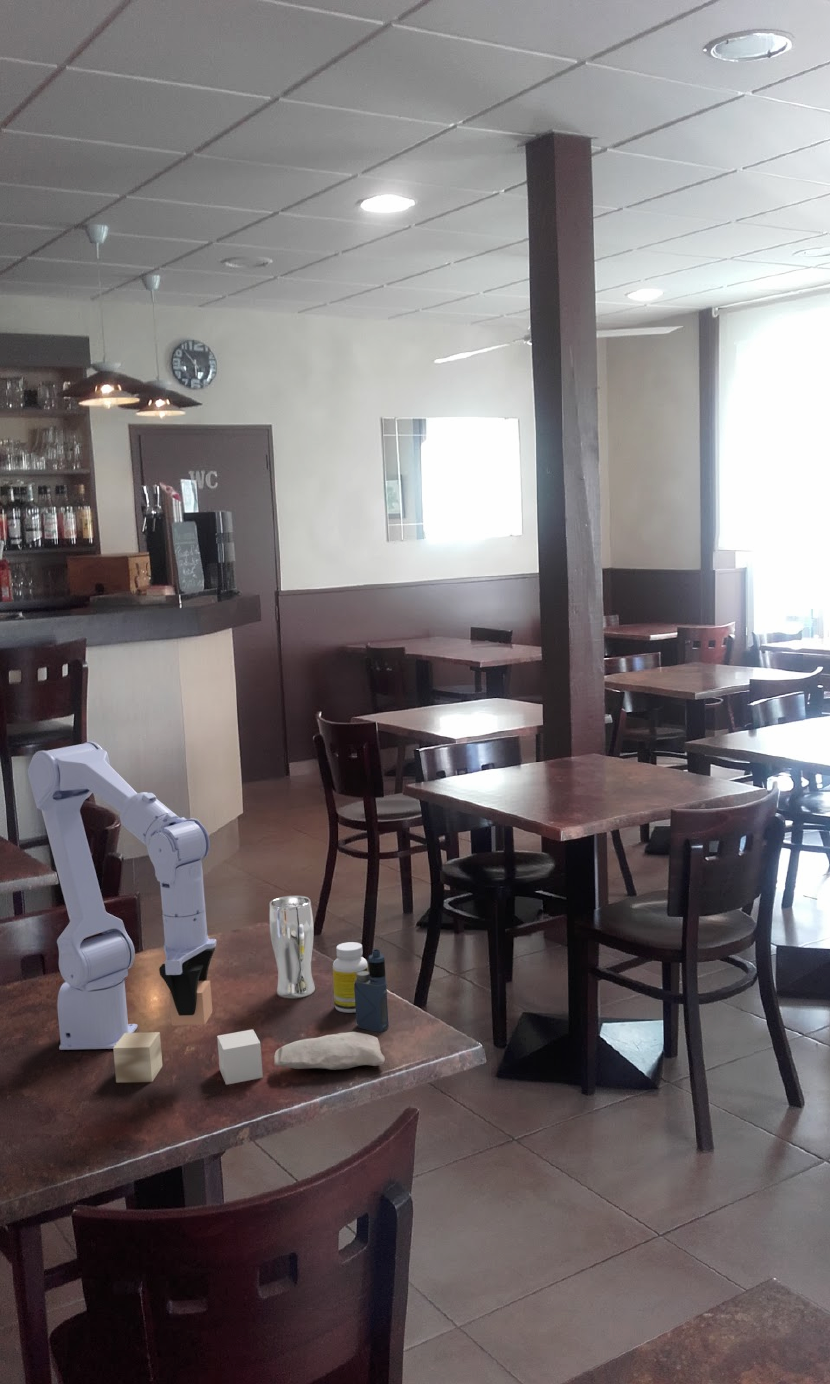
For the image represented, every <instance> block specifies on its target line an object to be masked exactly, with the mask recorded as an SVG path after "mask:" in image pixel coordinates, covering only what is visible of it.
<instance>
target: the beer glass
mask: <svg viewBox="0 0 830 1384" xmlns="http://www.w3.org/2000/svg"><path fill="white" fill-rule="evenodd" d="M314 932H315V929H314V917H313V909H312V902H311V899H310V898H309V897H308V896H304V895H286V896H280V897H278V898H277V897H276V898H274V899H271V901H269V933H270V934H269V935H270V939H271V945H272V949H273V953H274V957H275V958H274V959H275V961H276V967H277V971H278V972H277V973H278V975H277V976H278V977H277V986H276V987H277V988H276V995H278V996H279V997H280V998H283V999H302V998H305V997H309V996H310V995H312V994H313V993H314V992H315V990H316V987H315V982H314V979H313V975H312V957H313V955H312V954H313V947H314V937H315V936H314V934H315V933H314Z"/></svg>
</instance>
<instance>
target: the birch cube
mask: <svg viewBox="0 0 830 1384" xmlns="http://www.w3.org/2000/svg"><path fill="white" fill-rule="evenodd" d="M113 1059H114V1060H113V1061H114V1069H115V1070H114V1073H115V1082H116V1083H152V1082H153V1081H154V1079H155V1078H156V1077H157V1075H158V1074H159V1072H160V1070H161V1069H162V1067H163V1056H162V1043H161V1032H159V1031H155V1032H153V1031H152V1032H134V1033H124V1035H123V1036H122V1037H121V1039H120V1040H119V1041H118V1042H117V1044H116V1045H115V1046H114V1048H113Z"/></svg>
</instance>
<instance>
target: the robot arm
mask: <svg viewBox="0 0 830 1384" xmlns="http://www.w3.org/2000/svg"><path fill="white" fill-rule="evenodd" d="M26 772H27V775H28V776H27V777H28V781H29V784H30V788H31V793H32V795H33V799H34V803H35V806H36V807H35V808H36V809H38V810H41V814H42V818H43V822H44V825H45V830H46V832H47V837H48V841H49V845H50V849H51V852H52V857H53V860H54V865H55V868H56V872H57V875H58V880H59V884H60V888H61V893H62V895H63V900H64V904H65V907H66V911H67V915H68V919H69V922H68V925H67V926H66V927H65V928H64V930H63V931H62V933H61V934H60V935H59V937H57V940H56V944H57V947H58V970H59V971H60V975H61V977H62V979H63V980H64V982H63V983H62V985H61V986H60V988H59V989H58V995H57V1007H56V1008H57V1016H58V1019H57V1020H58V1027H59V1029H58V1030H59V1038H60V1044H59V1047H58V1049H59V1050H61V1051H62V1050H63V1051H64V1050H67V1051H69V1050H73V1051H74V1050H102V1049H103V1050H106V1049H108V1050H111V1049H113V1048H114V1046H115V1045H116V1044H117V1042H118V1041H119V1040H120V1039H121V1037H122V1036H123V1035H124V1033H135V1031H136V1030H137V1029H138V1024H137V1023H129V1021H128V1009H127V1007H128V1006H127V996H126V994H127V993H126V986H125V978H126V977H128V976H129V969H130V968H132V967H133V964H134V962H135V957H136V953H135V952H136V951H135V946H134V943H133V941H132V939H131V938H130V936H129V935H128V933H127V931H126V928H125V924H124V922H123V920H122V919H121V918H119V917H116V916H114V915H113V914H110V913H108V912H107V911H106V907H105V904H104V900H103V896H102V892H101V889H100V885H99V884H100V883H99V880H98V877H97V873H96V869H95V864H94V861H93V858H92V853H91V849H90V846H89V842H88V839H87V835H86V831H85V830H86V829H85V826H84V822H83V819H82V814H81V808H82V805H83V803H84V802H85V801H86V799H88V798H89V797H90V796H91V795H92V794H94V795H95V796H97V797H98V798H99V799H102V801H103V802H104V803H107V804H108V805H109V806H110V807H112V808H114V809H115V810H116V811H118V812H119V813H120V814H119V821H120V823H121V825H122V826H123V827H124V828H125V829H126V830H127V831H128V832H130V833H131V834H132V835H133V836H135V837H136V838H137V839H138V840H139V841H140V842H141V843H142V844H144V845H145V846H146V847H147V854H148V856H149V859H150V861H151V863H152V865H153V868H154V874H155V875H154V876H155V878H156V880H157V882H159V885H160V897H161V898H160V899H161V909H162V910H161V912H162V923H163V925H162V926H163V935H164V943H163V952H164V956H165V961H164V963H162V964H161V965H160V966H159V968H158V971H159V976H160V977H161V978H162V980H163V981H164V982H165V984H166V985H167V987H168V989H169V993H170V992H171V994H172V997H173V1000H174V1003H175V1006H176V1009H177V1012H178V1014H179V1016H183V1015H194V1013H195V1009H196V1000H197V986H198V981H208V980H207V979H208V973H209V968H210V964H211V960H212V957H213V955H214V953H215V949H216V948H215V947H216V946H217V945H218V944H217V942H218V941H217V939H216V938H209V935H208V926H207V914H206V911H207V910H206V901H205V900H206V899H205V886H204V872H203V861H202V860H204V859H206V858H207V856H208V854H209V852H210V846H211V843H210V841H211V840H210V835H209V834H208V830H207V829H206V827H205V826H204V825H203V824H202V823H201V821H200V820H199V819H198V818H193V817H192V818H186V817H185V816H184V817H179V816H178V815H177V814H176V813H174V811H172V810H171V809H170V808H169V807H167V806H166V805H165V804H164V803H163V802H161V801H160V800H159V799H158V798H157V796H156V795H155V793H153V792H146V791H144V792H143V791H141V792H139V793H138V792H136V790H134V788H133V787H132V786H131V785H130V784H129V783H128V782H127V781H126V780H125V779H124V778H123V777H122V776H121V775H120V774H119V773H118V772H117V771H116V770H115V769H114V768H113V767H112V766H111V762H110V758H109V754H108V751H106V750H105V749H103V748H102V747H101V745H99V744H98V742H95V741H86V742H83V743H81V744H76V745H70V746H63V747H60V748H54V749H48V750H38V751H35V753H34V754H33V756H32V758H31V761H30V763H29V766H28V769H27V771H26ZM100 933H101V934H100ZM99 934H100V935H99ZM95 935H98V936H95ZM92 936H94V937H92ZM89 937H90V938H89ZM87 938H88V939H87ZM84 939H85V940H84Z"/></svg>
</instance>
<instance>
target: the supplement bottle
mask: <svg viewBox="0 0 830 1384" xmlns="http://www.w3.org/2000/svg"><path fill="white" fill-rule="evenodd" d="M335 947H336V950H335V951H336V957H337V958H336V959H335V960H334V961H333V963H332V978H333V981H332V983H333V1001H334V1008H335V1010H337V1011H338V1012H340V1013H345V1014H346V1013H349V1014H353V1013H354V1014H356V1009H355V992H354V984H355V980H356V979H357V976H356V973H357V972H360V971H368V972H369V964H368V961H367V959H366V958H364V957H363V944H361V943H360V942H356V941H355V942H353V941H351V942H350V941H349V942H348V941H347V942H342V943H339V944H337V946H335Z"/></svg>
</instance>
